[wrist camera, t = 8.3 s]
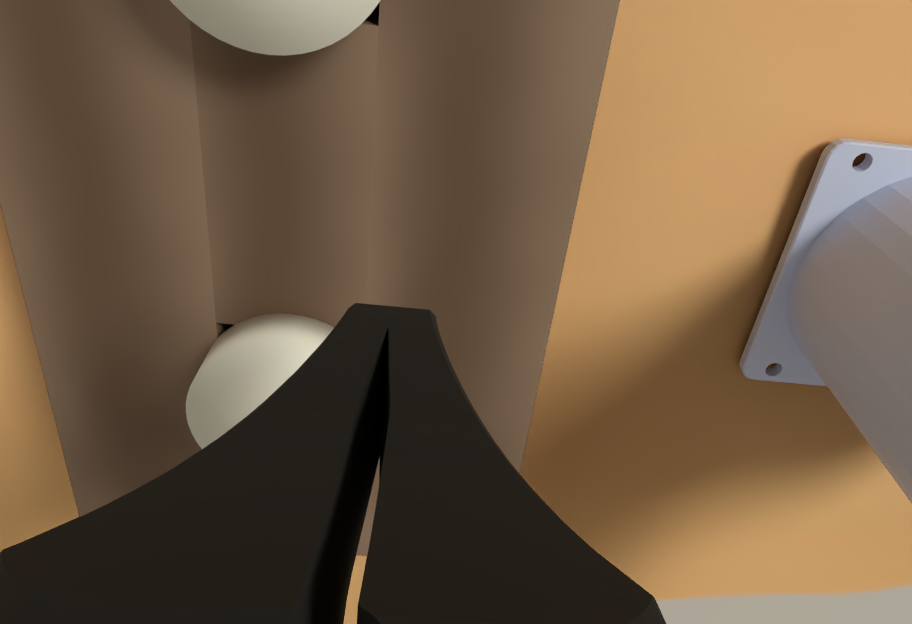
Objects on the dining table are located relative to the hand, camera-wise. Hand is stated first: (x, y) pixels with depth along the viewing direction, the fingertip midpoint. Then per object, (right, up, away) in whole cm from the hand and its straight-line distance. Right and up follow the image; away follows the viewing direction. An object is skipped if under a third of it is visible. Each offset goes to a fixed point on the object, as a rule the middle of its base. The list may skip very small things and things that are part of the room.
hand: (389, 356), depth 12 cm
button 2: (-4, 0, +11) cm, 11 cm away
